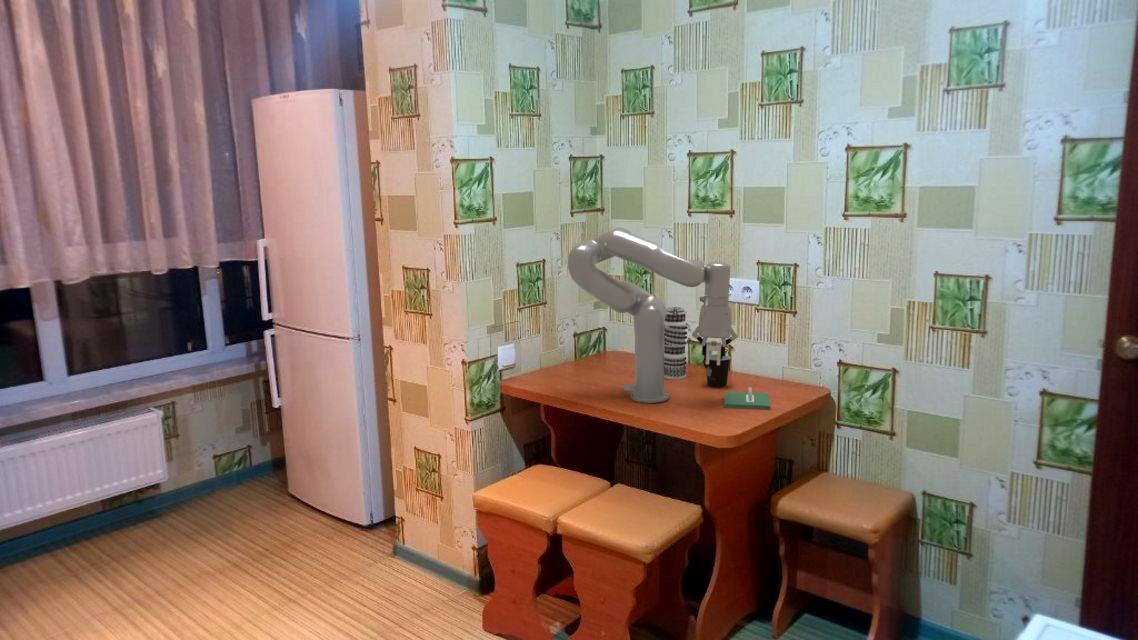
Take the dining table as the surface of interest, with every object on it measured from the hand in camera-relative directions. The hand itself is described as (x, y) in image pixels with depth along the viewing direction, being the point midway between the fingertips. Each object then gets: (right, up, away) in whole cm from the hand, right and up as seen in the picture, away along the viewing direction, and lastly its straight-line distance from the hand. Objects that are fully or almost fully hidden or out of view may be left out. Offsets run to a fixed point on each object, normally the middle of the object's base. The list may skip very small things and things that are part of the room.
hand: (713, 357), depth 250 cm
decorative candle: (-8, -9, +33) cm, 35 cm away
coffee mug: (+5, -11, +22) cm, 25 cm away
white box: (0, -1, 0) cm, 1 cm away
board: (+11, -14, 0) cm, 18 cm away
